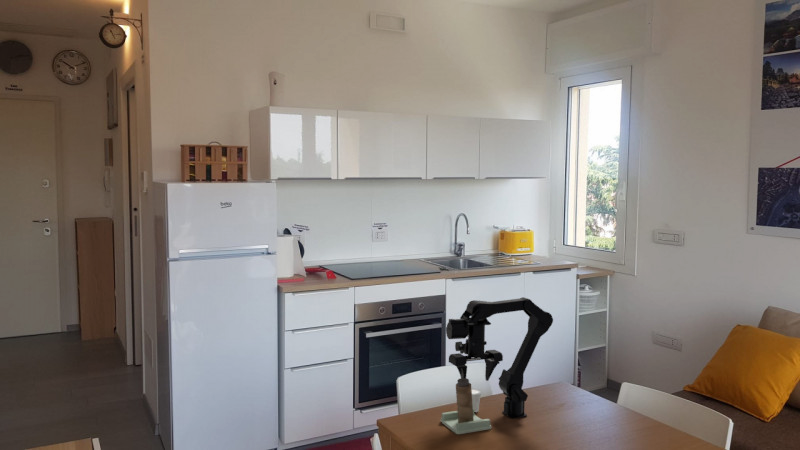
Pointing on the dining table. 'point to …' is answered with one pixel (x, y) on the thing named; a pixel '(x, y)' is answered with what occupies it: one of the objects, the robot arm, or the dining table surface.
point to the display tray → (459, 428)
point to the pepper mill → (464, 400)
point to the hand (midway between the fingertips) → (475, 382)
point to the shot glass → (476, 399)
